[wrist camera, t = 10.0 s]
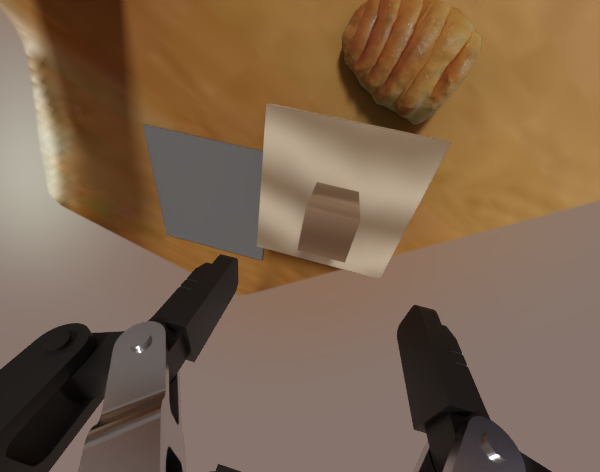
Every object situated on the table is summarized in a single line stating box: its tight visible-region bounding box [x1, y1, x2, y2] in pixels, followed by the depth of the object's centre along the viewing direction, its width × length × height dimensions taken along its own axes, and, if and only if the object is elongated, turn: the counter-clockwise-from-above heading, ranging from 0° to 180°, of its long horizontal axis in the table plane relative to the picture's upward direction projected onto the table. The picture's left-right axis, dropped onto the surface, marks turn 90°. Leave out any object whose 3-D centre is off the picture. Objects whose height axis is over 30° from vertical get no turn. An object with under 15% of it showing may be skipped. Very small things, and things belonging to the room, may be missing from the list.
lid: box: [257, 104, 451, 279], centre depth 17 cm, size 13×13×6 cm
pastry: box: [342, 0, 482, 124], centre depth 16 cm, size 9×7×4 cm
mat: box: [143, 125, 264, 260], centre depth 28 cm, size 15×15×1 cm
